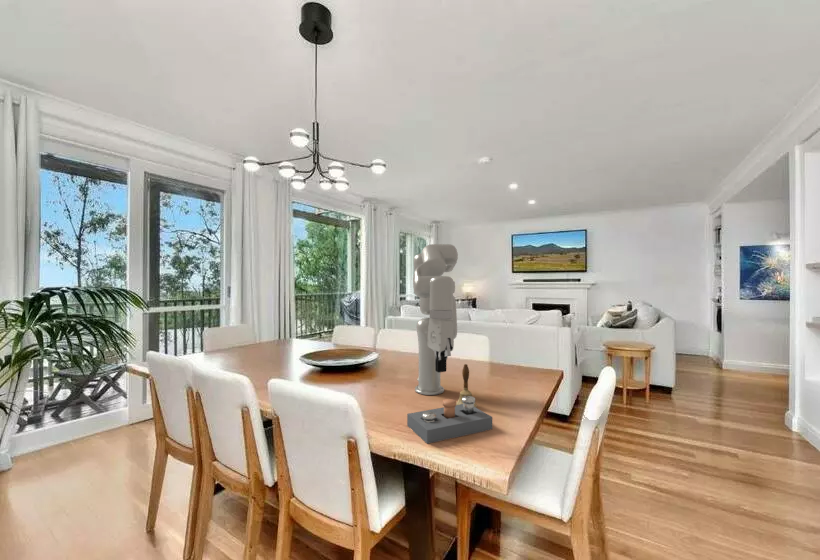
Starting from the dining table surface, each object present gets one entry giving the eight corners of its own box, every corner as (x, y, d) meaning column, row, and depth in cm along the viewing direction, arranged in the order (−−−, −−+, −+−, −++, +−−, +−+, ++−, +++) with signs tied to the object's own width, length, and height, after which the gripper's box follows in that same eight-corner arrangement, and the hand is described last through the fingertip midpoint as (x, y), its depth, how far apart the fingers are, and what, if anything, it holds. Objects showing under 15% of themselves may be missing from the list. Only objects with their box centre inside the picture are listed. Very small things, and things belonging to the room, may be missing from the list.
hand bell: (450, 406, 136) (450, 364, 136) (463, 400, 142) (463, 361, 142) (468, 412, 130) (468, 368, 130) (481, 406, 136) (481, 364, 136)
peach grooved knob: (440, 415, 118) (440, 400, 118) (451, 413, 120) (451, 398, 120) (447, 420, 114) (447, 404, 114) (458, 417, 116) (458, 402, 116)
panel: (407, 425, 118) (407, 413, 118) (467, 414, 128) (467, 403, 128) (427, 443, 105) (427, 430, 105) (492, 429, 116) (492, 416, 116)
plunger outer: (420, 428, 115) (420, 413, 115) (431, 426, 117) (432, 410, 116) (426, 433, 111) (426, 417, 111) (438, 431, 113) (438, 415, 112)
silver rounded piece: (459, 411, 121) (459, 397, 121) (470, 409, 123) (470, 395, 123) (466, 416, 117) (466, 401, 117) (477, 414, 119) (477, 399, 119)
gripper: (420, 313, 120) (420, 367, 121) (442, 318, 107) (441, 379, 107) (440, 312, 123) (440, 364, 124) (463, 317, 110) (463, 376, 110)
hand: (440, 371), depth 115 cm, fingers closed
